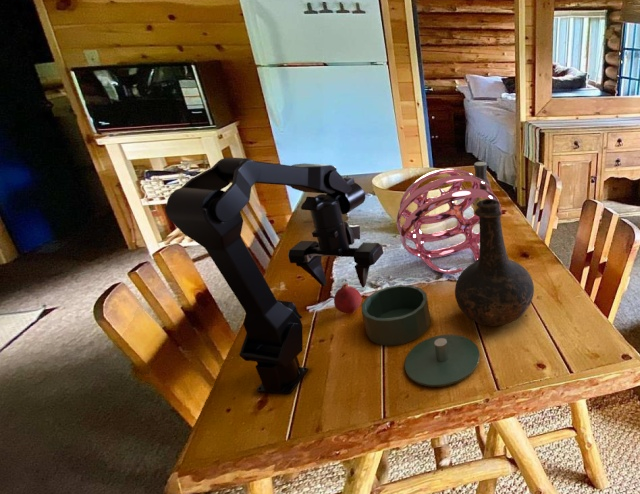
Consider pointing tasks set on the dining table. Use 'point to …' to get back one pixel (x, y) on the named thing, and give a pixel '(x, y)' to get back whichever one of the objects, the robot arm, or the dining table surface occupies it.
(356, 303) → the onion
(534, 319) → the dining table surface
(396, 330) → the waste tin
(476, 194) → the pink openwork sphere
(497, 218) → the glass bottle
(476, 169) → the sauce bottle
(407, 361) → the tin lid
